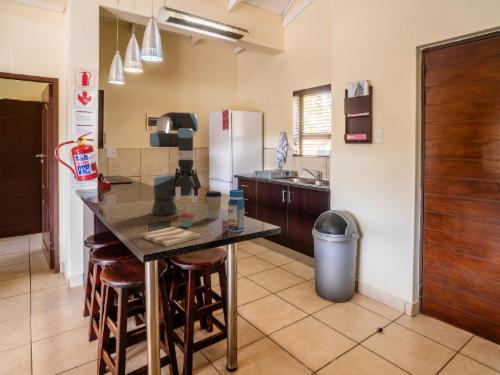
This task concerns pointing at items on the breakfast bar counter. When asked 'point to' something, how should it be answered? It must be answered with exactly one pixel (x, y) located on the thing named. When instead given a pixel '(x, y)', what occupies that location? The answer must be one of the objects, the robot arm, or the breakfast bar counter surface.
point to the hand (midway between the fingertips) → (186, 200)
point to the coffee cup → (213, 204)
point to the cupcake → (186, 218)
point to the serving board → (170, 236)
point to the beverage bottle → (236, 211)
